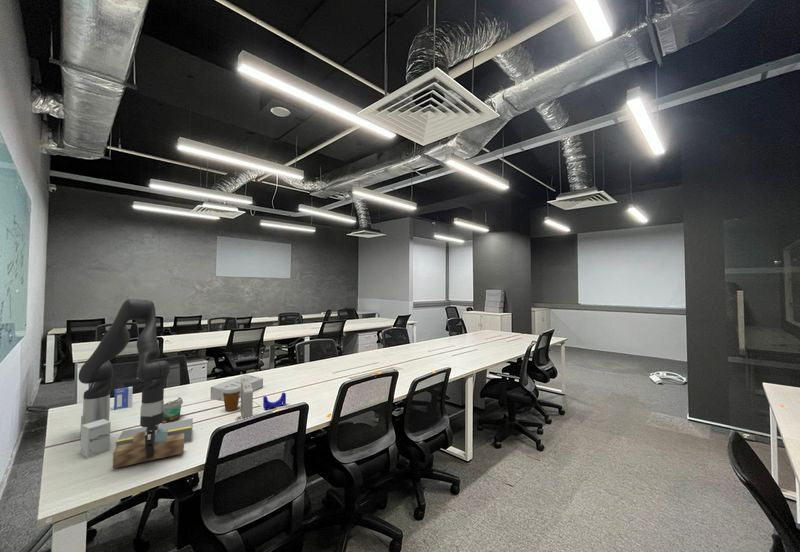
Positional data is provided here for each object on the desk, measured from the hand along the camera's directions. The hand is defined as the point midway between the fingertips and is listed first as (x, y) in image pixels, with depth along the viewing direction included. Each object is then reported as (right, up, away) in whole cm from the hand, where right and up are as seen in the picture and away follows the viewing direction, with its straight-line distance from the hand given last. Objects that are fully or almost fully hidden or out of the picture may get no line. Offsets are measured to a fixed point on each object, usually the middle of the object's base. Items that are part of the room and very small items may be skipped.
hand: (151, 454), depth 128 cm
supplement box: (-28, -3, +5) cm, 28 cm away
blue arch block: (+27, -5, +59) cm, 65 cm away
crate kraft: (-3, +5, -2) cm, 6 cm away
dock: (-8, -3, +14) cm, 17 cm away
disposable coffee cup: (+4, -5, +54) cm, 55 cm away
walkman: (-58, -4, +54) cm, 79 cm away
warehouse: (-7, -6, +83) cm, 83 cm away
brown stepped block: (0, -1, 0) cm, 1 cm away
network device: (+21, -4, +36) cm, 41 cm away
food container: (-18, -4, +38) cm, 42 cm away
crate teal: (+3, +5, +2) cm, 6 cm away
